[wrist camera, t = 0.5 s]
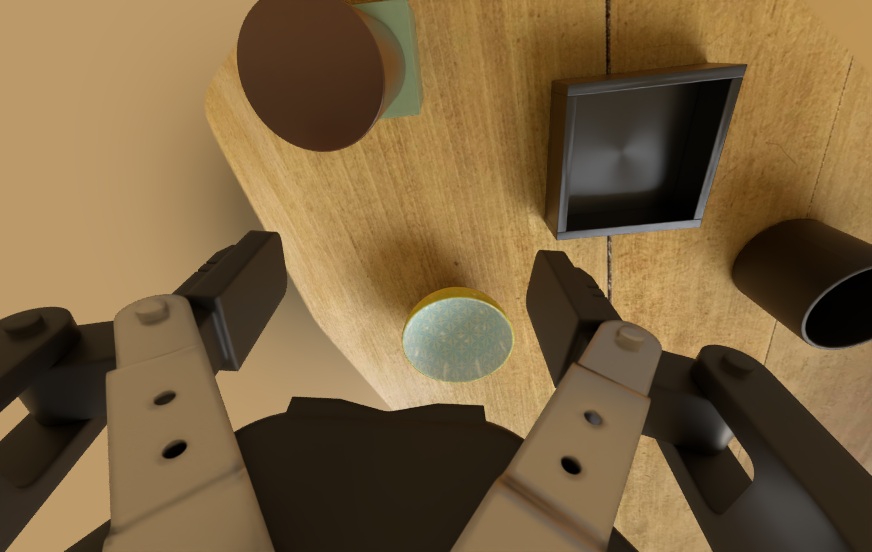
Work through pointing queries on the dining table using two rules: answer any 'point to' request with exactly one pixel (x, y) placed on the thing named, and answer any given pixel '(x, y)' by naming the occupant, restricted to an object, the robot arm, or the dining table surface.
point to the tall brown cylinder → (318, 70)
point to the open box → (636, 148)
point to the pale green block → (402, 24)
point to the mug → (811, 281)
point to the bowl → (457, 335)
